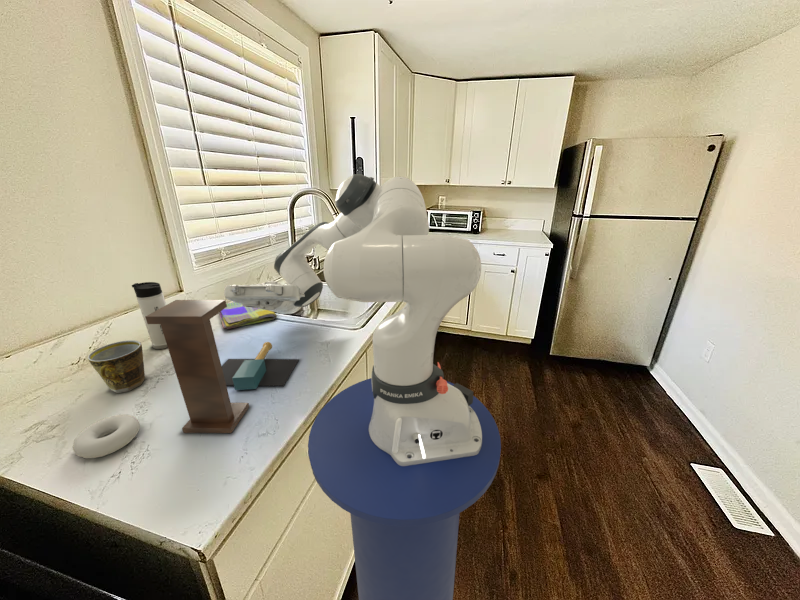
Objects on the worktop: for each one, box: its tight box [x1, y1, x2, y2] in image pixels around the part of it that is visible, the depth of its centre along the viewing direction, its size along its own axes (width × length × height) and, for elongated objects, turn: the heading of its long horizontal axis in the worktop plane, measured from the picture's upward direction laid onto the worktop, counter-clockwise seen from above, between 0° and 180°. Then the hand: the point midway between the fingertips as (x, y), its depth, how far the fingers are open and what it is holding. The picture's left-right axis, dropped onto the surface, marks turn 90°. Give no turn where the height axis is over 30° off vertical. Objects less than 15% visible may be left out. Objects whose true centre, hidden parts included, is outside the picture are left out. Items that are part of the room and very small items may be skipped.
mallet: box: [232, 341, 273, 391], centre depth 87 cm, size 5×19×4 cm, turn 4°
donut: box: [72, 413, 141, 459], centre depth 64 cm, size 10×4×10 cm
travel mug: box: [131, 281, 168, 350], centre depth 97 cm, size 6×7×20 cm
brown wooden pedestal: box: [145, 299, 250, 434], centre depth 65 cm, size 10×8×26 cm
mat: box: [221, 358, 299, 388], centre depth 86 cm, size 20×12×1 cm, turn 88°
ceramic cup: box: [87, 339, 146, 394], centre depth 78 cm, size 13×10×10 cm
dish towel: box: [219, 302, 278, 330], centre depth 121 cm, size 18×24×3 cm
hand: (250, 287), depth 84 cm, fingers open, 8 cm apart
